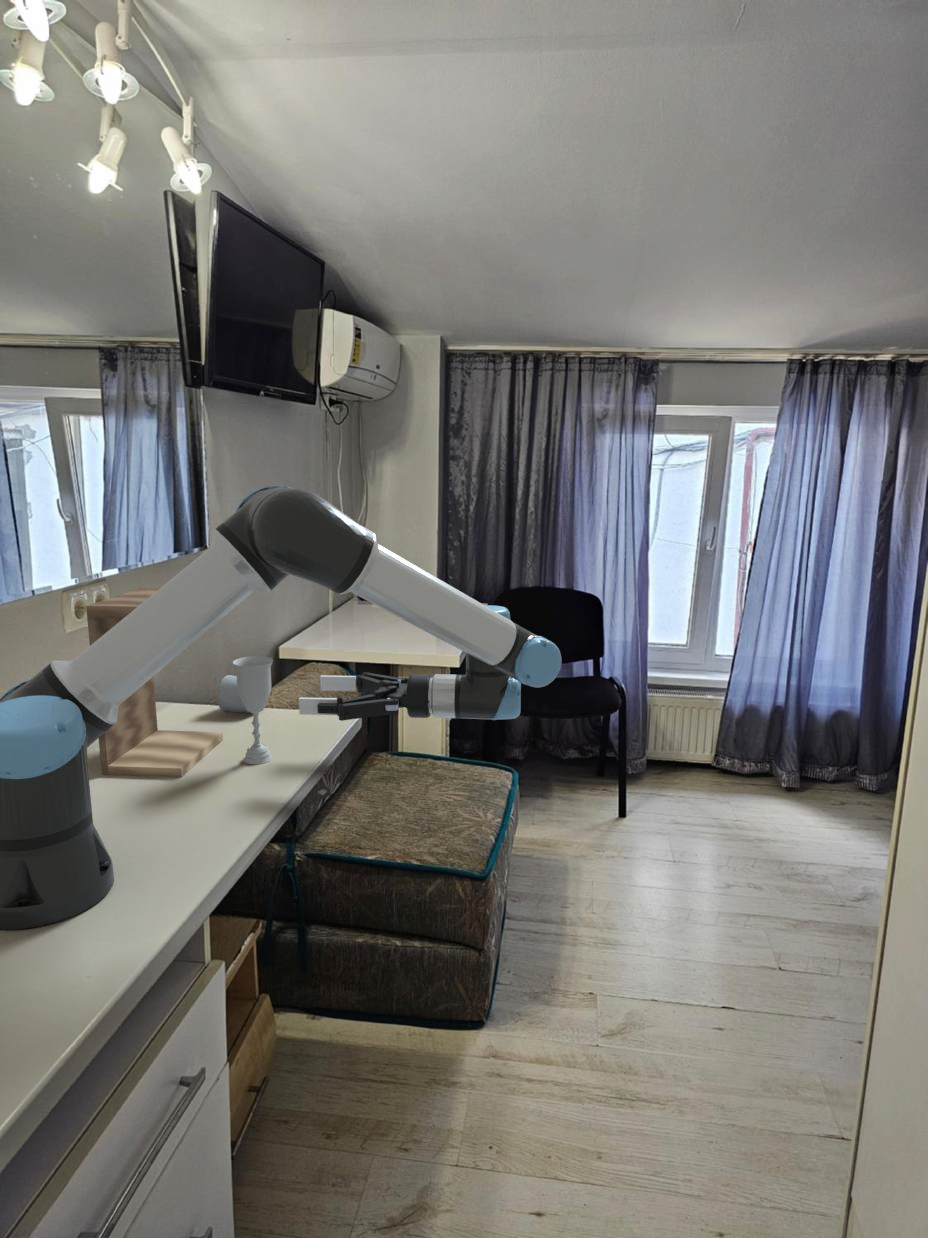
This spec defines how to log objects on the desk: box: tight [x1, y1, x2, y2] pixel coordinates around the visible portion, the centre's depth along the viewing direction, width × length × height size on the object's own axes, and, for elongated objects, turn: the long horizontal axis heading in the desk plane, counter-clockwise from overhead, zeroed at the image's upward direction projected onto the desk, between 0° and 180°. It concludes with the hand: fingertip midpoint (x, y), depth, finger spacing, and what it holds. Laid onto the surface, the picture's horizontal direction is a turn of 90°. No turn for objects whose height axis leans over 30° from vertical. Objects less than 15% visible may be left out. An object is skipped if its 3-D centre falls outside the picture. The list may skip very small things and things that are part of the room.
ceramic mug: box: [217, 674, 252, 714], centre depth 164 cm, size 11×8×8 cm
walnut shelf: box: [85, 588, 224, 778], centre depth 135 cm, size 18×14×29 cm
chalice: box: [232, 655, 274, 765], centre depth 135 cm, size 7×7×18 cm
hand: (310, 693), depth 134 cm, fingers open, 13 cm apart
